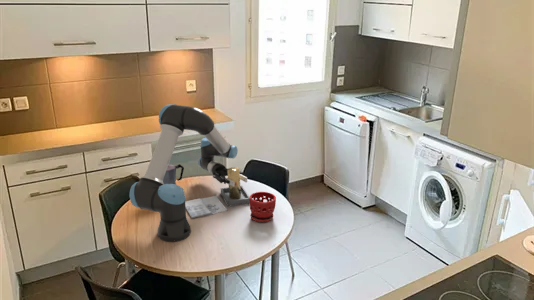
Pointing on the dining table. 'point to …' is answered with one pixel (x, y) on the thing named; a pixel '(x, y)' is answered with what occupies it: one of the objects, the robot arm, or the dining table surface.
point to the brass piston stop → (234, 176)
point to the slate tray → (232, 202)
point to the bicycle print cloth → (204, 206)
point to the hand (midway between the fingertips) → (240, 182)
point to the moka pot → (172, 174)
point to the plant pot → (262, 206)
